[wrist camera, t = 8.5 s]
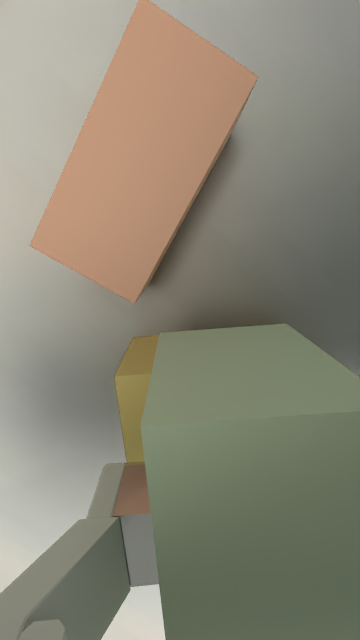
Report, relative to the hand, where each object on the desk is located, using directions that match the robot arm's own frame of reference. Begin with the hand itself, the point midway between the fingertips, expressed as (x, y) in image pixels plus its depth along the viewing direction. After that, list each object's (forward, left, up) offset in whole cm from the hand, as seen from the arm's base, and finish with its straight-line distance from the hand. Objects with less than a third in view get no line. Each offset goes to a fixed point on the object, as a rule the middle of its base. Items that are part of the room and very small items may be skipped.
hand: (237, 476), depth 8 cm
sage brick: (0, 0, -2) cm, 2 cm away
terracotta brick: (+2, -8, -7) cm, 11 cm away
